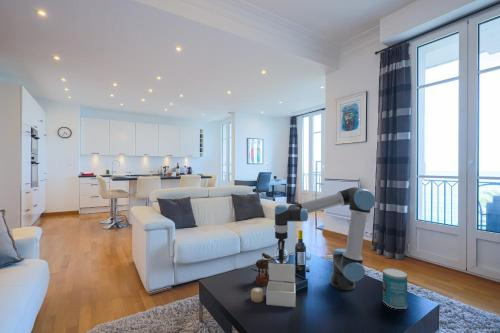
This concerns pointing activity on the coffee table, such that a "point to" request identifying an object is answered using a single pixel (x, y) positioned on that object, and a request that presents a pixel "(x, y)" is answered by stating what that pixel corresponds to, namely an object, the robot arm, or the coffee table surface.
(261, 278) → the brown tall irregular piece
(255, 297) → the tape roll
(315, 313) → the coffee table surface
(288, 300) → the carton
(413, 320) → the coffee table surface
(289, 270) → the lid
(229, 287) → the coffee table surface
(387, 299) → the food can
